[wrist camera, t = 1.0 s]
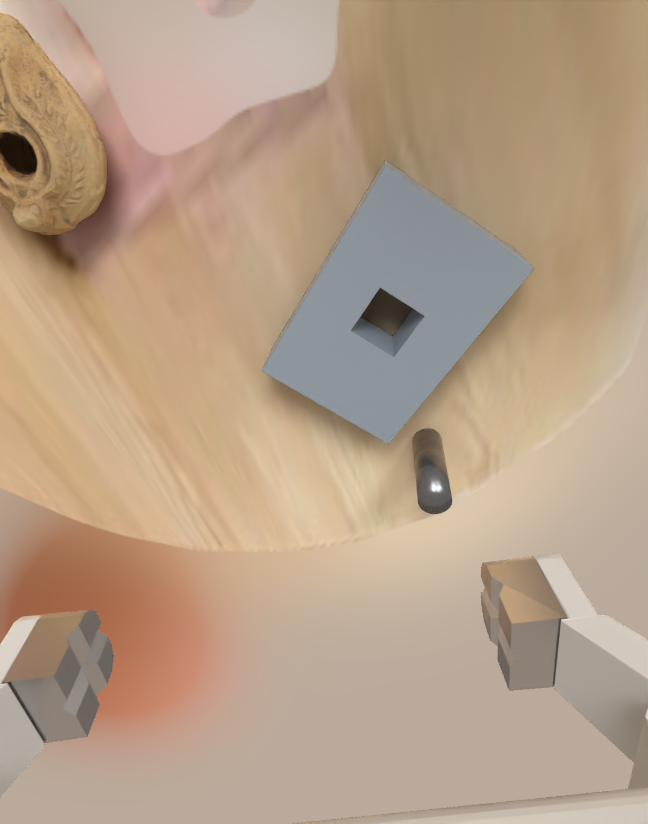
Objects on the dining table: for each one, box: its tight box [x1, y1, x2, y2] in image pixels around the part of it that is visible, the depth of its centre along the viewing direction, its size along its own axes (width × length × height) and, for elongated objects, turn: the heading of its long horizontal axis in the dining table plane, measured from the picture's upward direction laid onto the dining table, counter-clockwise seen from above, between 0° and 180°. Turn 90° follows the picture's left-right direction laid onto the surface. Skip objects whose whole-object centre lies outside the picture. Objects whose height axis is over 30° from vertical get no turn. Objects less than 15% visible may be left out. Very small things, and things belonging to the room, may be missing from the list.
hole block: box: [262, 160, 534, 444], centre depth 47 cm, size 20×14×5 cm
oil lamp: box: [0, 13, 107, 235], centre depth 41 cm, size 11×15×8 cm
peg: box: [413, 429, 452, 514], centre depth 51 cm, size 3×3×10 cm
